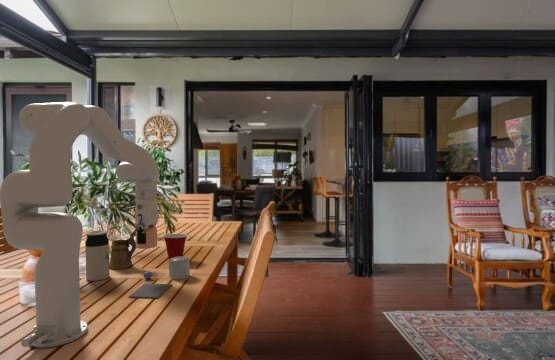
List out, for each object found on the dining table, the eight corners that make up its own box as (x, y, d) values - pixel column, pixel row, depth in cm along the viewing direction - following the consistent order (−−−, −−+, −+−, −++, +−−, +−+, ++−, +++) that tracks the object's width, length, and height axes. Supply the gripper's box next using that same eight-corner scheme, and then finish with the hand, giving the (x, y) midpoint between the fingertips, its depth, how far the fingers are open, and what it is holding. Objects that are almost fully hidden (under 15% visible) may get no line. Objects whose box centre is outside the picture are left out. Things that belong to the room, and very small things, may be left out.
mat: (157, 298, 110) (157, 297, 110) (128, 297, 111) (128, 296, 111) (172, 285, 122) (172, 284, 122) (145, 284, 123) (145, 283, 123)
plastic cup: (192, 257, 158) (191, 232, 158) (180, 264, 148) (179, 237, 147) (171, 256, 161) (171, 231, 161) (158, 262, 151) (158, 236, 150)
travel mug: (81, 281, 126) (80, 234, 126) (93, 274, 134) (92, 230, 134) (102, 281, 126) (101, 234, 125) (113, 274, 134) (112, 230, 133)
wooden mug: (137, 269, 141) (136, 227, 140) (104, 270, 140) (103, 227, 140) (145, 263, 150) (144, 223, 149) (114, 263, 149) (113, 223, 148)
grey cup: (185, 279, 128) (184, 261, 128) (167, 279, 129) (166, 261, 128) (191, 273, 135) (191, 256, 135) (174, 273, 136) (173, 256, 135)
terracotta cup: (151, 248, 124) (151, 230, 124) (133, 248, 124) (132, 229, 124) (159, 244, 131) (159, 226, 131) (142, 244, 132) (141, 226, 131)
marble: (149, 280, 127) (149, 272, 127) (142, 280, 127) (142, 272, 127) (153, 277, 130) (153, 270, 130) (145, 277, 130) (145, 270, 130)
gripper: (144, 196, 118) (145, 246, 119) (165, 193, 136) (165, 237, 136) (124, 196, 119) (125, 246, 119) (147, 193, 136) (147, 237, 137)
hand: (146, 241), depth 128 cm, fingers closed on terracotta cup, 7 cm apart
